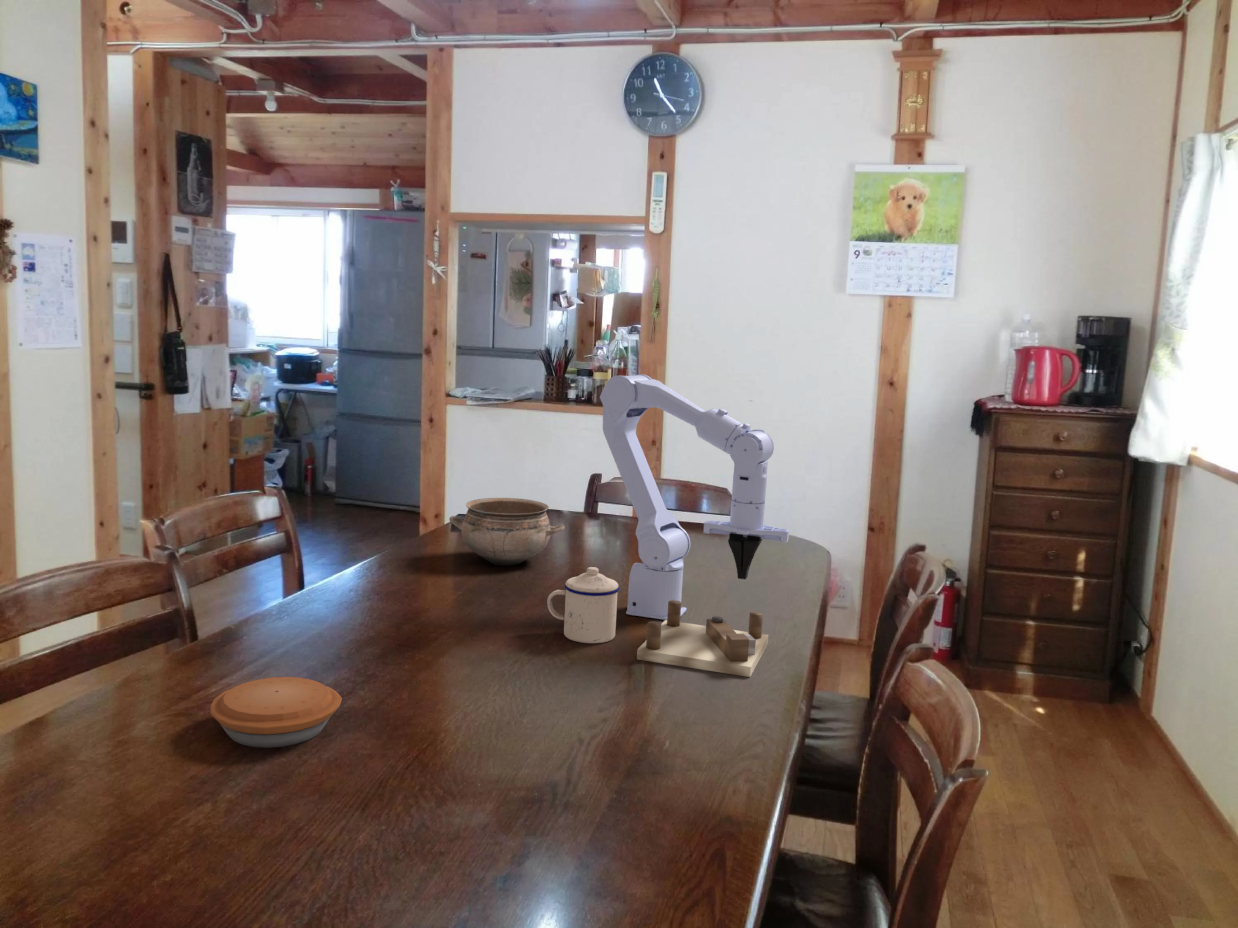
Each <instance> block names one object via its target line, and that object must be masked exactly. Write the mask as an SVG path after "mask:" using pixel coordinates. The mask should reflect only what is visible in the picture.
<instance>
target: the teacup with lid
mask: <svg viewBox="0 0 1238 928" xmlns="http://www.w3.org/2000/svg"><path fill="white" fill-rule="evenodd" d="M599 571H600V569H599V568H598V567H595V566H594V567H593V566H590V567H587V568H586V572H584V573H581V574H579V575H578V576H573V577H571V578H568V579H567V580H566V581H565V584H564V588H565V589H556V590H554V591H552V592H551V593H549V595H548V596H547V600H546V604H547V609H548V611H549V613H550V614H551V615H552V616H553V617H554V618H556V619H558V620H561V621H564V622H563V625H564V626H563V635H564V636H565V637H566V638H567V639H568V640H571V641H573V642H577V643H583V644H603V643H606V642H610V641H612V640H613V639H614V638H615V637H616V627H617V608H618V592H619V590H620V586H619V583H618V582H617V581H616V580H614V579H613V578H609V577H607V576H605V575H604V574H602V573H599ZM557 595H558V596H565V597H564V600H565V601H564V603H565V604H564V614H561V613H558V612H557V611H556V609H555V608H554V605H553V598H554V597H555V596H557Z"/></svg>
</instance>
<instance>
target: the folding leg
mask: <svg viewBox="0 0 1238 928" xmlns="http://www.w3.org/2000/svg"><path fill="white" fill-rule="evenodd" d="M705 626H706V634H707V635H708V636H709V637H710V638H711V640H712V641H713V642H714V643H715V644H716V645H717V647H718V648H719V649H720V650H721V651H722V652H723V654H724V655H725V656H726V657H727V658H728V659H729V661H748V650H749V639H748V637H747V636H746V635H745V634H737V633H736V632H735V631H734V630H735V629H733V628H732V627H731V626H730V625H729V624H728V623H727V621H725V620H724V618H723V617H721V616H718V615H717V616H712V617H711V618H706V625H705Z"/></svg>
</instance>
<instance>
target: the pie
mask: <svg viewBox="0 0 1238 928" xmlns="http://www.w3.org/2000/svg"><path fill="white" fill-rule="evenodd" d="M342 700H343V698H342V696H341V695H340V693H338V692H337V690H335V689H333V688H332V687H330V686H326V685H325V684H323V683H322V682H319V681H316V680H313V679H310V678H306V677H305V678H303V677H299V676H298V677H296V676H295V677H292V676H276V677H267V678H261V679H255V680H251V681H247V682H244V683H241V684H239V685H236V686H234V687H231V689H227V690H224V691H222V692H221V693H220V694H219V695H217V696H216V697H215V698H214V699H213V701H212V703H211V704H210V715H211V716H212V717H213V718H214V720H215V721H217V722H218V723H219V725H220V726H221V728H223V730H224V731H225V733H226V734H227V736H228V737H229V738H231V740H233V742H235V743H238V744H240V745H243V746H247V747H252V748H263V749H264V748H267V749H269V748H283V747H288V746H295V745H298V744H302V743H304V742H307V741H308V740H311V739H312V738H314V737H316V736H317V735H319V734H320V733H321V732H322V730H323V729H324V728H325V726H326V725H327V724H328V722H329V720H330V718H331V716H333V714H335V712H336V711H337V710H338V709H339V708H340V705H341V703H342Z"/></svg>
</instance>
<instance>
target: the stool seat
mask: <svg viewBox="0 0 1238 928" xmlns="http://www.w3.org/2000/svg"><path fill="white" fill-rule="evenodd" d="M681 607H682V601H681V602H680V601H676V600H671V601H668V615H667V620H663V622H661V621H656V620H655V621H654V620H651V621H648V622H647V623H646V625H647V629H646V640H645V641H644V642H643V643H642V644H641V645H640V646H639V647H638V648H637V650H636V651H637V653H636V660H640V661H645V662H650V663H651V662H652V663H658V664H664V665H672V666H679V667H684V668H691V669H694V670H695V669H696V670H701V671H710V672H716V673H722V674H727V675H728V674H729V675H735V676H741V677H746V678H751V676H752V674H753V673H754V671H755V669H756V667H757V665H758V663H759V662H760V659H761V657H762V656H763V654H764V652H765V650H766V648H767V647H768V644H769V636H770V635H769V634H765V633H764V634H763V621H764V620H763V619H764V614H763V612H760V611H750V612H749V620H748V631H743V630H737V629H733V630H734V631H735V632H736V633H737V634H745V635H746V636H747V637H748V639H749V650H748V661H729V659H728V658H727V657H726V656H725V655H724V654H723V652H722V651H721V650H720V649H719V648H718V647H717V645H716V644H715V643H714V642H713V641H712V640H711V638H710V637H709V636H708V635H707V634H706V625H703V624H702V625H700V624H696V623H695V624H694V623H689V622H681V617H680V615H681Z"/></svg>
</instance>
